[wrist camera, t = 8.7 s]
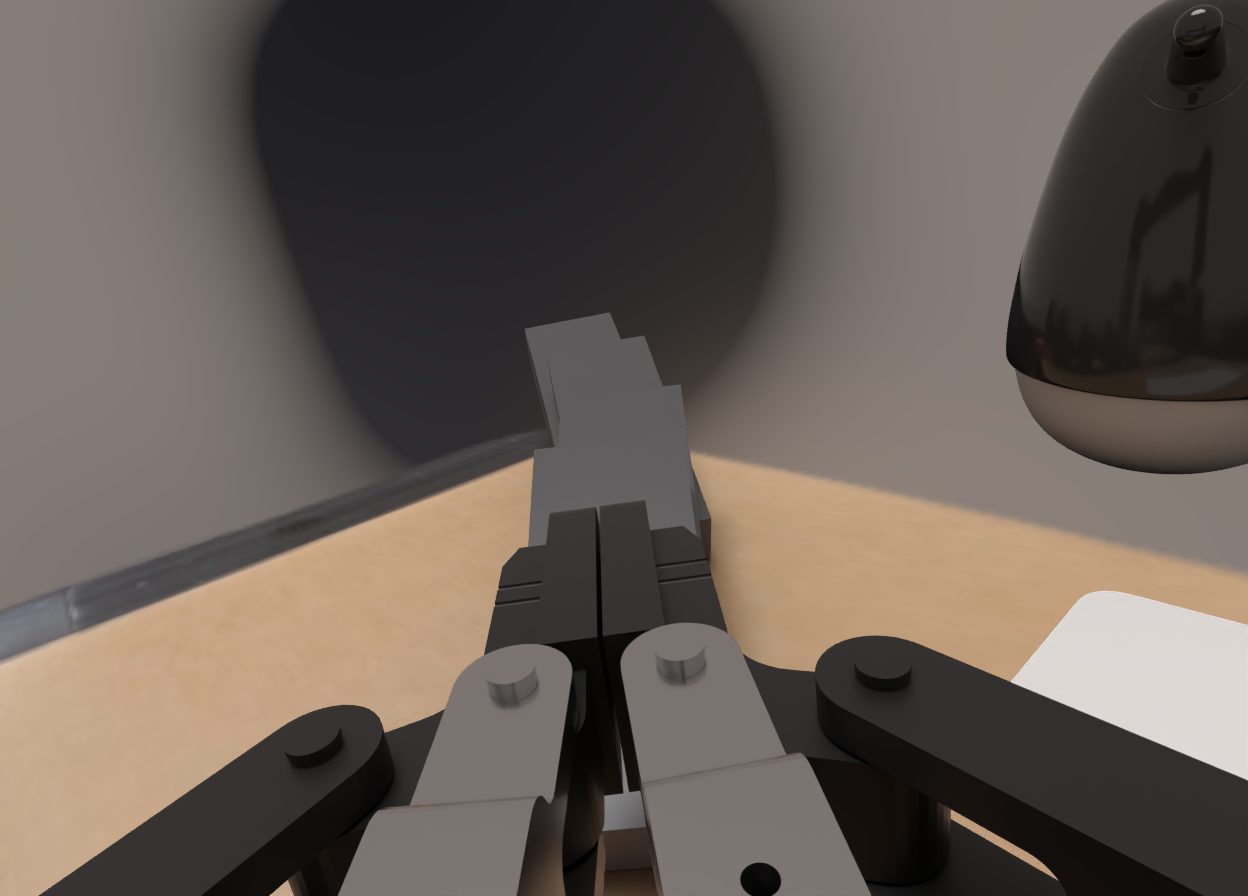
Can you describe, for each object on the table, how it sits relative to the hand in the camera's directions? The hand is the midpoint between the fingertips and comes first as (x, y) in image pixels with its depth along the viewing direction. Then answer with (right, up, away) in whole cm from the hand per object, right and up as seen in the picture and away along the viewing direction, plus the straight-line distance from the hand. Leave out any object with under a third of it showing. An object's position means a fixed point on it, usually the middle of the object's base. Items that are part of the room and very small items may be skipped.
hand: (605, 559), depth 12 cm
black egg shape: (+20, +2, +17) cm, 26 cm away
